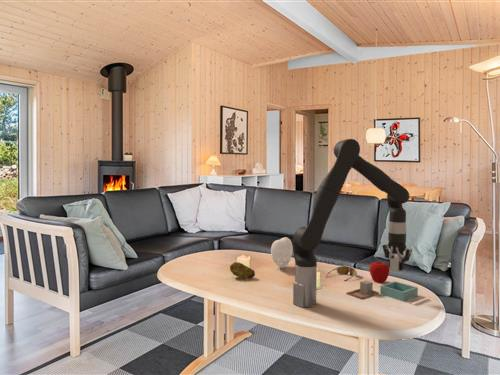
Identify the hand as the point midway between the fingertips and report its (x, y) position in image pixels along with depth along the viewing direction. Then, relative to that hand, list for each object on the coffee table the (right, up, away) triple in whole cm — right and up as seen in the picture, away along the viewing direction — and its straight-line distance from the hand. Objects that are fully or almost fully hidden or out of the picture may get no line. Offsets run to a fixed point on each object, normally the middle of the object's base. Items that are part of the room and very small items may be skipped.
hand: (396, 268), depth 176 cm
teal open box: (+2, -13, +2) cm, 13 cm away
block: (-12, -12, +5) cm, 18 cm away
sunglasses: (-17, -12, +32) cm, 38 cm away
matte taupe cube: (0, 0, 0) cm, 0 cm away
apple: (0, -12, +23) cm, 26 cm away
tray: (-14, -13, +4) cm, 20 cm away
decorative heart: (-48, -10, +50) cm, 70 cm away
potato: (-71, -11, +30) cm, 78 cm away
